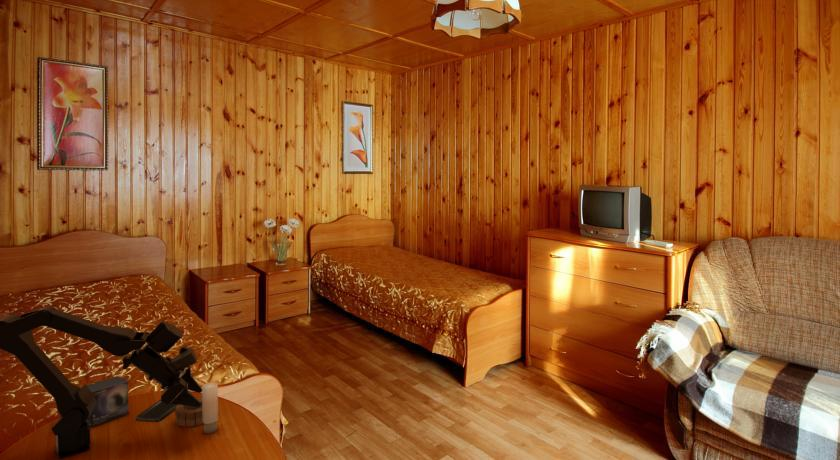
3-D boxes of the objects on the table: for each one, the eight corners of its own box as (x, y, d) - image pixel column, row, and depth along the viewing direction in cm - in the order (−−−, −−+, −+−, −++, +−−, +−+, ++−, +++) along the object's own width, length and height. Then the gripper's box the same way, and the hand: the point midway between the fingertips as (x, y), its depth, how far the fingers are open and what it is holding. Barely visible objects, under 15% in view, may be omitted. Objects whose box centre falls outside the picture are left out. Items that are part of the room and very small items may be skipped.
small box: (91, 428, 136) (89, 392, 135) (79, 422, 140) (78, 387, 139) (130, 414, 145) (129, 380, 144) (118, 408, 149) (117, 375, 148)
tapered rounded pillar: (205, 435, 134) (205, 389, 133) (200, 430, 137) (199, 385, 136) (220, 430, 137) (219, 386, 136) (214, 425, 140) (214, 381, 138)
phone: (133, 418, 141) (165, 395, 156) (134, 421, 141) (166, 399, 156) (159, 419, 141) (189, 397, 155) (159, 423, 141) (189, 400, 156)
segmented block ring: (182, 430, 137) (182, 416, 136) (171, 417, 143) (171, 404, 143) (216, 419, 143) (216, 406, 143) (204, 408, 150) (204, 395, 150)
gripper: (173, 352, 123) (222, 388, 128) (180, 331, 140) (222, 364, 145) (139, 387, 121) (189, 422, 126) (150, 361, 138) (194, 393, 143)
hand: (200, 398), depth 135 cm, fingers open, 9 cm apart
